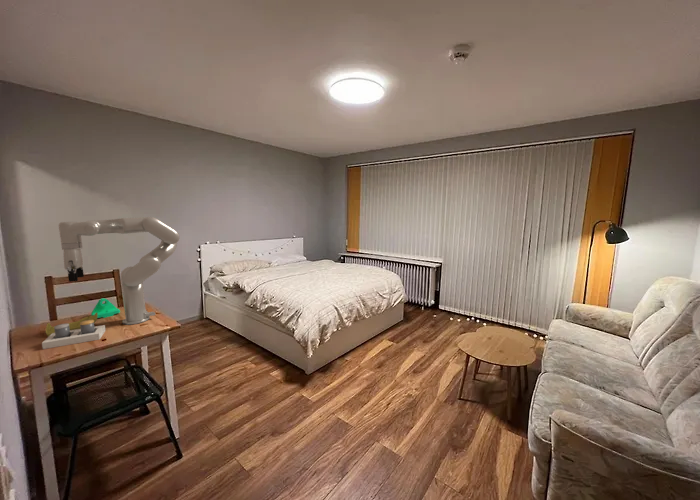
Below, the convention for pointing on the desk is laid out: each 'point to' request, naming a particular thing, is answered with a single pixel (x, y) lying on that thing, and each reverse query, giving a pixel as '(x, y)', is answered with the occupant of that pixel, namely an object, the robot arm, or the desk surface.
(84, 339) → the tray
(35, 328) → the desk surface
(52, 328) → the plastic component
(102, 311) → the camera mount
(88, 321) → the gray jar
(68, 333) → the grey cylinder
